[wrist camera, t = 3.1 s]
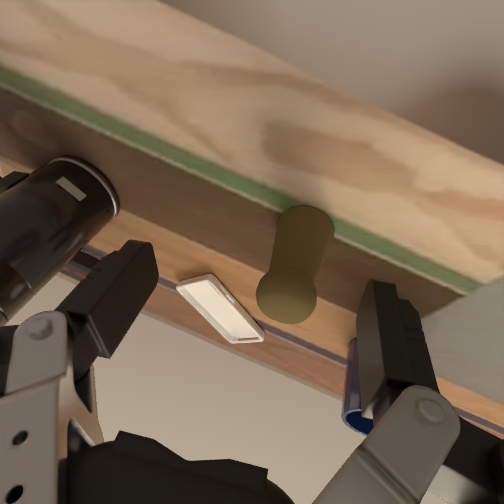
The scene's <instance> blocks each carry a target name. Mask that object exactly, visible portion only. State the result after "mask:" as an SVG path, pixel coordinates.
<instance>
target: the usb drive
mask: <svg viewBox="0 0 504 504" xmlns="http://www.w3.org/2000/svg"><path fill="white" fill-rule="evenodd" d="M99 261H100V260H97V259H95V258H93V257H91V256H89V255H87V254H85V253H83V252H81V251H79V252H78V253H77V254H76V255H75V256H74V257H73V258H72V259H71V260H70V261H69V262H68V263H67V264H66V265H65V266H64V267H63V268H62V269H61V270H60V272H62V273H64V274H66V275H68V276H70V277H72V278H74V279H77V280H79V281H82V280H83V278H84V279H85V278H86V275H87V274H88V273H89V272H90V271H91V270H93V268H94V267H95V265H96V264H97V263H98V262H99Z"/></svg>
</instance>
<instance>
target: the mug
mask: <svg viewBox="0 0 504 504" xmlns="http://www.w3.org/2000/svg"><path fill="white" fill-rule="evenodd" d="M341 417H342V420H343V422H344V423H345V424H346V425H347V426H348V427H350V428H351V429H353V430H354V431H356V432H359V433H361V434H363V435H365V436H368V434H369V433H370V432H371V431H372V429H373V428H374V425H373V419H369V418H365V417H362V411H361V394H360V378H359V362H358V345H357V338H355V339H353V340H352V341H351V342H350V344H349V346H348V352H347V363H346V373H345V383H344V393H343V404H342V414H341Z"/></svg>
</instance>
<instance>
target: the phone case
mask: <svg viewBox="0 0 504 504" xmlns="http://www.w3.org/2000/svg"><path fill="white" fill-rule="evenodd" d="M218 285H219V286H220V287H221V288H222V289H223V290H224V292H225V293H226V294H224V293H223V291H222V290H221V289H220V288H219V287H218ZM176 289H177V291H178V292H179V293H180V294H181V295H182V296H183V297H184V298H185V299H186V300H187V301H188V302H189V303H190V304H191V305H192V306H193V307H194V308H195V309H196V310H197V311H198V312H199V313H200V314H201V315H202V316H203V317H204V318H205V319H206V320H207V321H208V322H209V323H210V324H211V325H212V326H213V327H214V328H215V329H216V330H217V331H218V332H219V333H220V334H221V335H222V336H223V337H224V338H225V339H226V340H227V341H229V342H230V343H248V342H262V341H263V340H264V337H265V332H264V331H263V330H262V329H261V328H260V327H259V325H258V324H257V323H256V322H255V321H254V320H253V319H252V317H251V316H250V315H249V314H248V313H247V312H246V311H245V310H244V308H243V307H242V306H241V305H240V304H239V303H238V302H237V301H236V299H235V298H234V297H233V296H232V295H231V294H230V293H229V291H228V290H227V289H226V288H225V287H224V286H223V285H222V284H221V282H220V281H219V280H218V279H217V278H216V277H215V276H214V275H212V274H206V275H202V276H198V277H194V278H190V279H186V280H182V281H180V282H179V283H178V285H177V286H176ZM218 292H219V293H218ZM250 337H259V338H258V340H245V341H237V340H238V338H250Z"/></svg>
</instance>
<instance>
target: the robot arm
mask: <svg viewBox="0 0 504 504" xmlns="http://www.w3.org/2000/svg"><path fill="white" fill-rule="evenodd" d="M118 213H119V201H118V197H117V195H116V193H115V191H114V189H113V187H112V186H111V184H110V183H109V182H108V181H107V179H106V178H105V177H104V176H103V175H102V174H101V173H100V172H99V171H98V170H96V169H95V168H94V167H92V166H91V165H89V164H88V163H86V162H84V161H82V160H80V159H78V158H75V157H71V156H59V157H57V158H55V159H54V160H52V161H51V162H49V164H45V165H43V166H41V167H40V168H38V169H37V170H35V171H33V172H32V173H30V174H28V173H22V172H17V171H13V172H12V173H10V174H8V175H7V176H5V177H3V178H2V177H0V504H294V502H293V501H292V500H291V499H290V497H289V496H288V495H287V494H286V493H285V492H284V491H283V490H282V489H281V488H279V487H278V486H277V485H276V484H274V483H273V482H271V481H270V480H268V479H267V473H268V469H266V468H262V467H258V466H254V465H251V464H247V463H243V462H239V461H235V460H231V459H220V460H199V461H188V460H185V459H183V458H182V457H180V456H179V455H177V454H175V453H174V452H173V451H171V450H170V449H168V448H167V447H165V446H163V445H162V444H160V443H159V442H157V441H156V440H154V439H151V438H147V437H143V436H139V435H136V434H132V433H128V432H124V431H119V433H118V435H117V437H116V438H115V440H114V441H109V442H104V439H103V434H102V430H101V428H100V424H99V421H98V415H97V402H96V390H95V377H94V367H93V365H92V363H93V362H94V360H95V359H96V358H97V356H99V357H104V358H108V359H110V358H111V356H112V354H113V353H114V351H115V350H116V348H117V347H118V345H119V344H120V342H121V341H122V339H123V337H124V336H125V334H126V333H127V331H128V330H129V328H130V327H131V325H132V323H133V322H134V320H135V319H136V317H137V316H138V314H139V312H140V311H141V309H142V308H143V306H144V305H145V303H146V301H147V300H148V298H149V297H150V295H151V294H152V292H153V290H154V289H155V287H156V285H157V282H158V277H159V273H158V268H157V263H156V259H155V255H154V250H153V246H152V244H151V243H149V242H143V241H137V240H128V241H127V242H126V243H125V244H124V245H123V247H122V248H121V249H120V250H119V251H113V252H112V253H110V254H108V255H107V256H105V257H103V258H102V259H101V260H100V261H99V262H98V263H97V264H96V265H95V267H94V268H93V270H91V271H90V272H89V273H88V274H87V275H86V278H85V279H84V278H83V280H82V281H81V282H80V283H79V284H78V285H77V286H76V287H75V288H74V289H73V290H72V292H71V293H70V294H69V295H68V296H67V297H66V298H65V299H64V300H63V301H62V302H61V303H60V305H59V306H58V307H57V308H56V309H55V310H54V311H44V312H40V313H37V314H35V315H33V316H31V317H29V318H28V319H26V320H25V321H24V322H23V323H21V325H13V326H5V325H6V323H7V322H8V321H9V320H10V319H11V318H12V317H13V316H14V315H15V314H16V313H17V312H18V311H19V310H20V309H22V308H23V306H25V305H26V304H27V303H28V302H29V301H30V300H31V299H32V297H33V296H34V295H36V293H37V292H39V290H41V288H43V287H44V285H46V284H47V283H48V282H49V281H50V280H51V279H52V278H53V277H54V276H55V275H56V274H57V273H58V272H59V271H60V270H61V269H62V268H63V267H64V266H65V265H66V264H67V263H68V262H69V261H70V260H71V259H72V258H73V257H74V256H75V255H76V254H77V253H78V252H79V251H80V250H81V249H82V248H83V247H84V246H85V245H86V244H87V243H88V242H89V241H91V240H92V239H93V238H94V237H95V236H96V235H97V234H98V233H99V232H100V231H101V230H102V229H103V228H104V227H105V226H106V225H107V224H108V223H109V222H111V221H112V220H113V219H114V218H115V217H116V216H117V215H118ZM356 329H357V345H358V362H359V378H360V394H361V411H362V417H365V418H369V419H373V425H374V428H373V429H372V431H371V432H370V433H369V434H368V436H367V437H366V438H365V439H364V441H363V442H362V443H361V444H360V445H359V446H358V447H357V448H356V449H355V450H354V452H353V453H352V454H351V455H350V457H349V458H348V459H347V460H346V462H345V463H344V464H343V465H342V467H341V468H340V469H339V470H338V472H337V473H336V474H335V475H334V477H333V478H332V479H331V480H330V482H329V483H328V484H327V485H326V487H325V488H324V489H323V491H322V492H321V493H320V494H319V495H318V497H317V498H316V499H315V500H314V502H313V503H312V504H420V502H421V500H422V498H423V496H424V494H425V493H426V491H427V490H428V491H430V492H432V493H433V494H435V495H437V496H438V497H440V498H441V499H443V500H445V501H446V502H448V503H450V504H504V439H503V440H502V439H500V438H498V437H496V436H494V435H492V434H491V433H489V432H487V431H485V430H483V429H481V428H479V427H477V426H475V425H473V424H471V423H469V422H467V421H466V420H464V419H463V418H461V417H460V416H459V415H458V414H457V413H456V411H455V409H454V407H453V406H452V405H451V404H450V402H449V401H448V400H447V399H446V398H445V397H443V396H442V395H441V394H440V392H439V389H438V386H437V382H436V378H435V374H434V370H433V367H432V363H431V359H430V355H429V352H428V348H427V344H426V343H425V336H424V333H423V331H422V325H421V321H420V317H419V314H418V312H417V311H416V310H415V308H414V307H413V306H412V304H411V303H410V302H409V300H403V299H398V295H397V290H396V286H395V283H394V282H389V281H382V280H376V279H370V280H369V281H368V284H367V287H366V289H365V292H364V295H363V297H362V300H361V303H360V305H359V308H358V312H357V319H356Z"/></svg>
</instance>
